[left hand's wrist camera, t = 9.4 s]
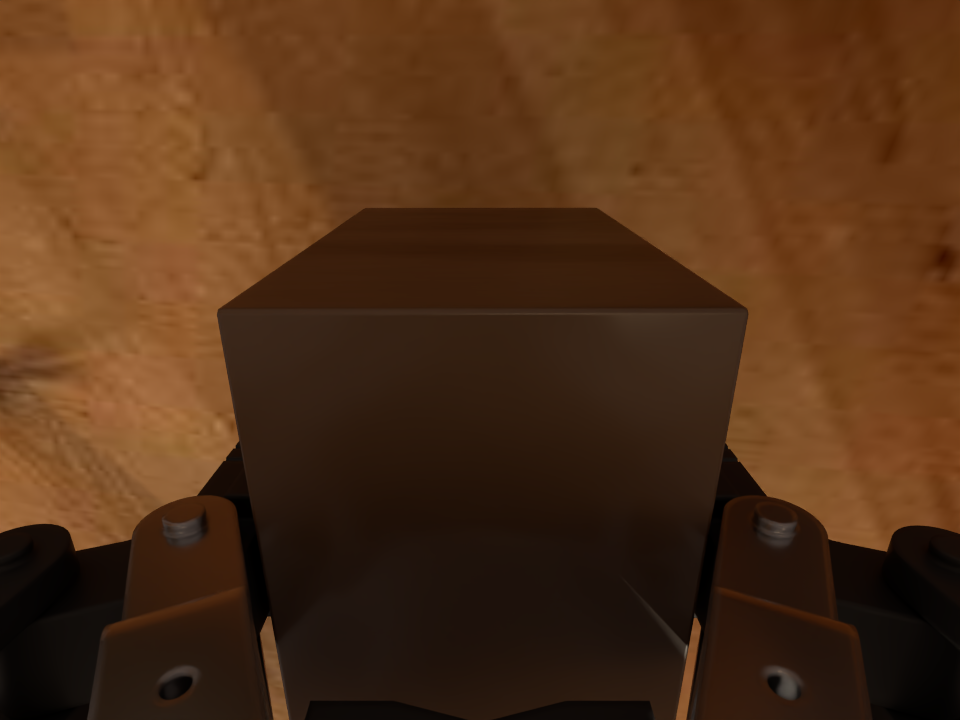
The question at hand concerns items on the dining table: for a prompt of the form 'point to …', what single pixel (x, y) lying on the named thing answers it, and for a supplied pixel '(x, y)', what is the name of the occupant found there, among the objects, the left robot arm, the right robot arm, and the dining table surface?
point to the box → (482, 457)
